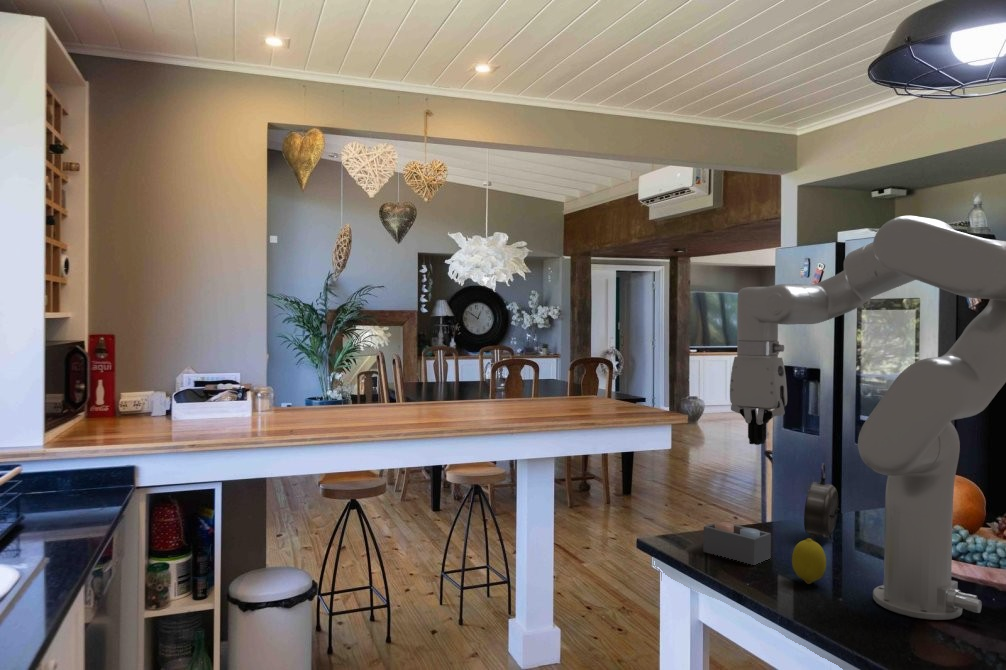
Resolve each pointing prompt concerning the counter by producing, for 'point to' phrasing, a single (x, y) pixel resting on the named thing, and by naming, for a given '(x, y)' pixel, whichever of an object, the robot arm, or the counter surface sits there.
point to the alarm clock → (821, 509)
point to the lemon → (809, 560)
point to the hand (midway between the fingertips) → (756, 443)
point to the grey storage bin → (737, 545)
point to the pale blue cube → (750, 532)
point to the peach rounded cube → (725, 526)
